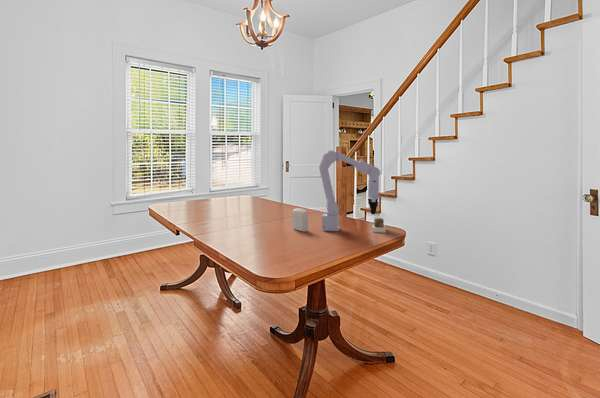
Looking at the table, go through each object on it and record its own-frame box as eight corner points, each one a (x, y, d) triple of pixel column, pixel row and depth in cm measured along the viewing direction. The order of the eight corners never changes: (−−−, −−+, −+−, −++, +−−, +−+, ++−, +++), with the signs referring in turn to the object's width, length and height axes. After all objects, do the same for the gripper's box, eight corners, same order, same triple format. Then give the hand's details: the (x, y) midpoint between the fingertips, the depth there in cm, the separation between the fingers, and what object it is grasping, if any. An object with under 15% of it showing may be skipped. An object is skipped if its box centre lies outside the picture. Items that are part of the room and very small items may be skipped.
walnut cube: (375, 227, 177) (375, 220, 176) (374, 225, 181) (374, 218, 180) (383, 227, 176) (383, 220, 176) (382, 225, 181) (382, 218, 180)
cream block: (372, 232, 177) (372, 227, 176) (372, 229, 183) (372, 224, 183) (385, 233, 175) (385, 228, 175) (385, 230, 182) (385, 224, 181)
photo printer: (291, 229, 187) (291, 207, 185) (297, 227, 189) (297, 206, 187) (303, 232, 179) (302, 210, 177) (309, 231, 182) (308, 209, 180)
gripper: (381, 190, 172) (380, 215, 174) (380, 187, 186) (379, 210, 188) (367, 190, 173) (367, 215, 175) (367, 186, 187) (367, 210, 189)
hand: (372, 212), depth 182 cm, fingers open, 7 cm apart
